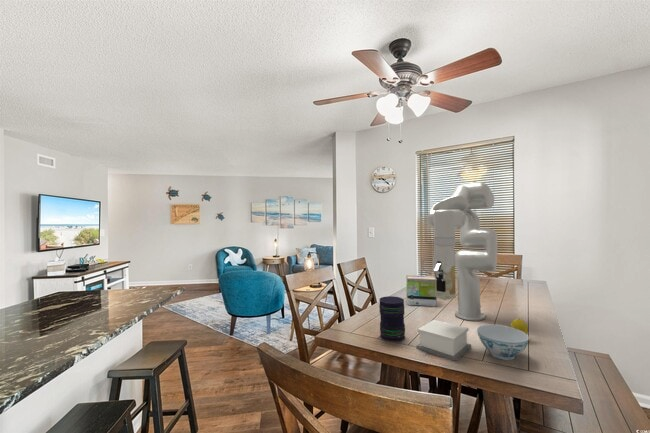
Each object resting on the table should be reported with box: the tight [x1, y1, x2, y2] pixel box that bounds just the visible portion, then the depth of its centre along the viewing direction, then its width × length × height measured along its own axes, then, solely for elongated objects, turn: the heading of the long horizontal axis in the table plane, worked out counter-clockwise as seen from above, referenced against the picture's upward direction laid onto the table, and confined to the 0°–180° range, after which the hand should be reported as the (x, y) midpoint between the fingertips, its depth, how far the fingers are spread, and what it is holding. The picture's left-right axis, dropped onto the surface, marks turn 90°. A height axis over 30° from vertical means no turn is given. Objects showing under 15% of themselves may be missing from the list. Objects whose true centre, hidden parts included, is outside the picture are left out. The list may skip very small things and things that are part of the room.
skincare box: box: [436, 265, 457, 301], centre depth 109 cm, size 6×4×12 cm
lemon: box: [510, 318, 529, 335], centre depth 111 cm, size 6×6×8 cm
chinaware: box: [476, 324, 529, 361], centre depth 99 cm, size 15×15×8 cm
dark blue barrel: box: [379, 295, 406, 343], centre depth 116 cm, size 10×10×15 cm
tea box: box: [406, 274, 438, 307], centre depth 160 cm, size 15×10×15 cm, turn 77°
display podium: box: [415, 319, 472, 362], centre depth 105 cm, size 14×14×7 cm
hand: (445, 289), depth 109 cm, fingers closed on skincare box, 7 cm apart
